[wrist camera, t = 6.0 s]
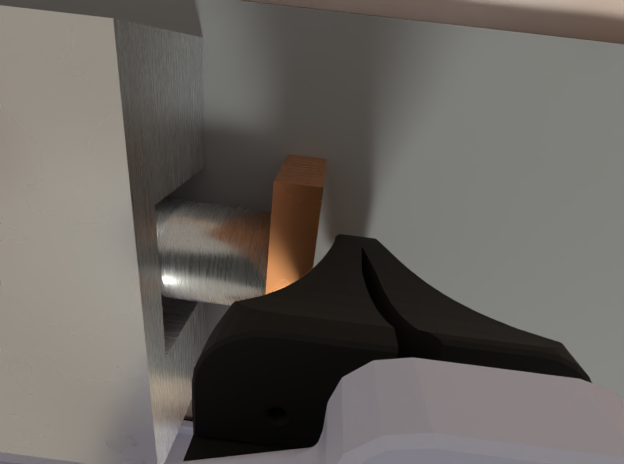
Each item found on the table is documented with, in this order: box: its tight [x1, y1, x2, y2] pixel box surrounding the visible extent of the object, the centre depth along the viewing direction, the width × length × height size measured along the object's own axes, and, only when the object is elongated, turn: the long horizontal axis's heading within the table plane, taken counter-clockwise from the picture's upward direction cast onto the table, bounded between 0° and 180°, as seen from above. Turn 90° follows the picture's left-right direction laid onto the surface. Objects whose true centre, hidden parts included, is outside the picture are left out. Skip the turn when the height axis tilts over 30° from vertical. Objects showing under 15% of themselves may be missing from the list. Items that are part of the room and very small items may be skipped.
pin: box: [155, 154, 327, 306], centre depth 12 cm, size 12×6×3 cm, turn 84°
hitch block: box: [0, 5, 207, 464], centre depth 11 cm, size 12×6×5 cm, turn 174°
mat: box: [0, 0, 624, 402], centre depth 13 cm, size 14×26×1 cm, turn 84°
